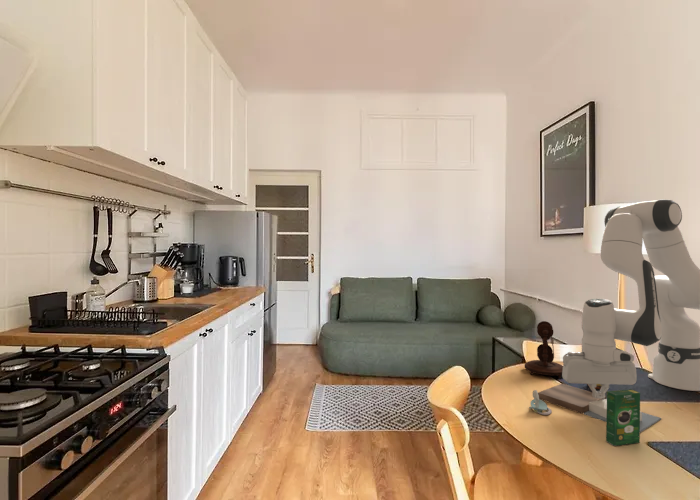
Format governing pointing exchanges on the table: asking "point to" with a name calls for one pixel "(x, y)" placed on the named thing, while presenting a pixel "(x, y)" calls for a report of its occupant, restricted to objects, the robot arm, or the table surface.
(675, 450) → the table surface
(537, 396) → the pacifier
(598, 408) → the tile
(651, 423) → the mat
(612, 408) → the coffee box
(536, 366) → the stacked ball statuette
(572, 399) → the board
